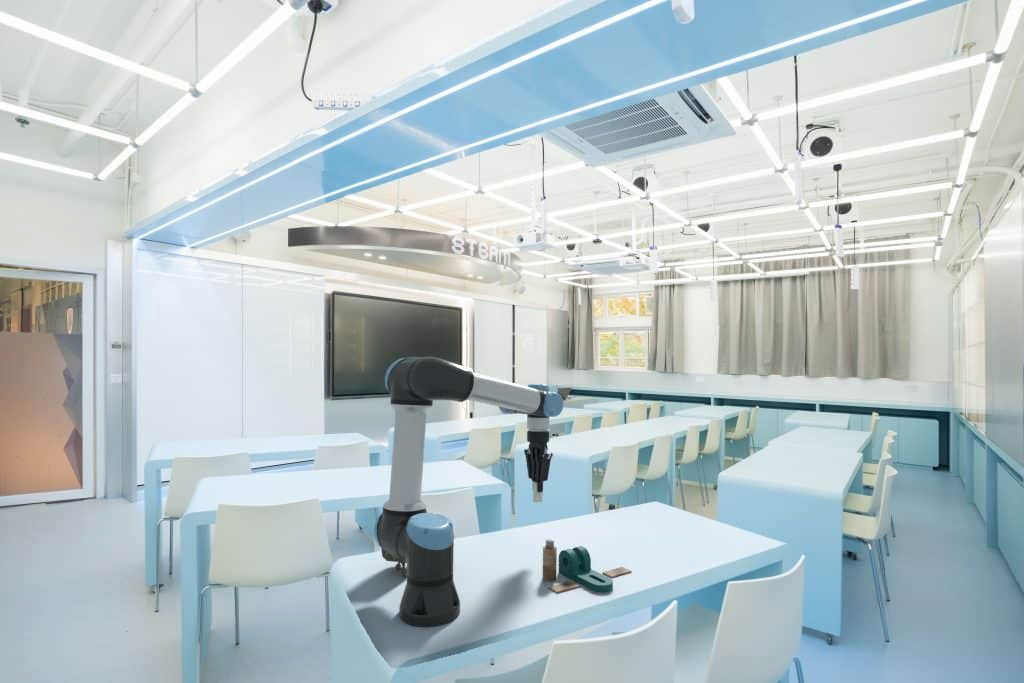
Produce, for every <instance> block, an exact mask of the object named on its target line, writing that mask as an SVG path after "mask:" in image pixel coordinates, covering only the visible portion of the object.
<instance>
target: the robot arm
mask: <svg viewBox="0 0 1024 683" xmlns="http://www.w3.org/2000/svg"><path fill="white" fill-rule="evenodd" d="M384 384H385V388H386V390H387V391H388V393H389V394H390V403H389V404H390V406H391V407H392V409H393V410H394V412H395V413H394V414H395V415H394V424H393V425H394V428H393V429H394V430H393V440H392V441H393V443H392V456H391V471H390V483H389V498H388V499H387V500H386V501H385V502H384V503H383V505H382V512H381V513H380V514H379V516H377V518H376V521H375V522H374V528H373V536H374V540H375V541H376V543H377V545H378V547H380V548H381V550H382V549H383V550H384V551H385V552H386V553H388V554H390V555H393V556H395V557H397V558H399V559H401V560H403V561H405V562H407V563H406V571H407V576H406V584H405V587H404V591H403V593H402V597H401V600H400V603H399V615H398V616H399V619H400V620H401V621H402V622H404V623H405V624H408V625H410V626H411V625H412V626H416V627H426V628H427V627H436V626H441V625H444V624H447V623H450V622H452V621H454V620H455V619H456V618H457V617H458V616H459V615H460V613H461V600H460V598H459V594H458V591H457V587H456V584H455V581H454V544H455V543H454V542H455V541H454V540H455V533H454V532H455V531H454V525H453V522H452V521H451V519H450V518H449V517H447V516H445V515H442V514H440V513H434V512H427V513H426V511H427V505H426V503H425V502H424V501H423V500H422V488H423V473H424V472H423V471H424V457H425V456H424V454H425V445H426V444H425V440H426V427H427V426H426V425H427V413H428V412H429V411H430V410H431V408H433V406H434V404H433V402H434V401H453V402H457V403H464V402H465V401H471V402H476V403H481V404H486V405H490V406H494V407H498V409H499V410H500V412H501V413H503V414H509V415H513V414H515V415H516V414H520V415H526V417H527V418H526V429H528V430H527V431H526V440H527V442H528V443H529V444H528V448H525V449H524V450H523V453H524V455H525V461H526V467H527V475H528V479H530V480H531V481H532V491H533V492H532V501H533V503H541V502H543V491H544V482H545V481H548V479H549V472H550V466H551V460H552V458H553V455H554V453H553V452H550V451H549V447H548V443H549V442H550V418H552V417H553V418H554V417H558V416H559V415H560V414H561V413H562V411H563V410H564V399H563V397H562V396H561V394H560V393H558V392H553V391H550V386H549V385H548V384H546V383H545V384H544V383H543V384H540V383H537V384H536V383H535V384H533V383H532V384H531V383H530V384H528V385H527V386H526V385H522V384H519V383H514V382H509V381H506V380H503V379H498V378H495V377H491V376H488V375H487V376H486V375H484V374H481V373H480V374H479V373H475V372H474V371H473V369H472V368H470V367H468V366H463V365H460V364H459V363H458V364H457V363H456V362H452V361H448V360H446V359H442V358H440V357H434V356H420V357H419V356H407V357H402V358H399V359H397V360H395V361H394V362H393V363H392V364H390V365H389V367H388V369H387V370H386V372H385V377H384Z"/></svg>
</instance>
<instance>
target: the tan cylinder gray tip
mask: <svg viewBox="0 0 1024 683" xmlns="http://www.w3.org/2000/svg"><path fill="white" fill-rule="evenodd" d="M557 550H558V549H557V547H556V546H555V541H554V540H553V539H546V540H545V546H543V547H542V580H543V581H544V582H546V583H554V582H557V562H558V561H557V557H558V554H557Z"/></svg>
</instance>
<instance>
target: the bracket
mask: <svg viewBox="0 0 1024 683" xmlns="http://www.w3.org/2000/svg"><path fill="white" fill-rule="evenodd" d="M591 562H592V560H591V556H590V553H589V551H588V549H587V548H586V547H585V546H583V545H579V546H576V547H573V548H567V549H563V550H561V551H560V552H559V554H558V575H560V576H562V577H565V578H567V579H568V580H569V581H572V582H574V583H576V584H578V585H580V586H581V587H584V588H586V589H587V590H589V591H592V592H594V593H598V594H599V593H600V594H606V593H610V592H612V591H613V589H614V588H613V587H614V585H613V584H614V582H613V581H614V580H613V578H611V577H609V576H607V575H605V574H603V573H600V572H597V571H596V570H593V569H592V565H591V564H592V563H591Z"/></svg>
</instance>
